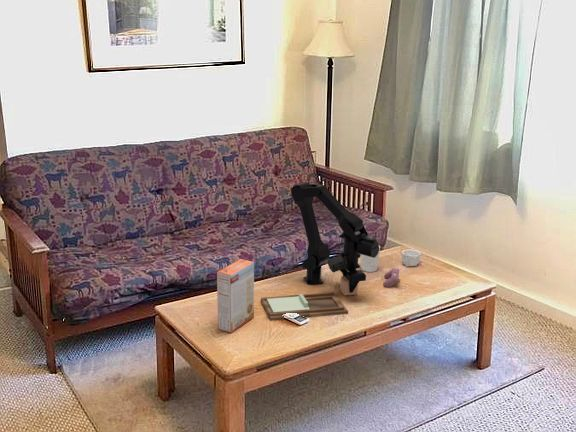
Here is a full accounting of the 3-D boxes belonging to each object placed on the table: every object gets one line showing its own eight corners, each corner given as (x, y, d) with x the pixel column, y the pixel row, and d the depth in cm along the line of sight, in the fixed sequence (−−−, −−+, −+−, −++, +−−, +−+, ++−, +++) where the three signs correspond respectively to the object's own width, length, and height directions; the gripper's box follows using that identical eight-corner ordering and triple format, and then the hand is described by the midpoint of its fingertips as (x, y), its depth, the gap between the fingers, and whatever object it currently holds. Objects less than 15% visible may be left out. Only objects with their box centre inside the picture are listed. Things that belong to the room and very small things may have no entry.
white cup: (381, 268, 283) (383, 245, 280) (373, 274, 276) (375, 251, 273) (364, 264, 287) (366, 241, 284) (355, 269, 280) (357, 246, 277)
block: (340, 289, 260) (341, 276, 258) (352, 288, 261) (353, 275, 259) (344, 295, 255) (345, 281, 254) (357, 294, 257) (358, 280, 255)
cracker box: (240, 313, 239) (240, 257, 232) (254, 318, 236) (255, 261, 230) (216, 329, 227) (216, 270, 221) (231, 334, 224) (231, 275, 218)
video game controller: (392, 291, 264) (401, 277, 262) (381, 285, 264) (391, 271, 262) (393, 281, 274) (402, 268, 271) (383, 276, 274) (392, 262, 271)
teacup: (409, 269, 282) (411, 257, 281) (396, 263, 288) (397, 251, 287) (427, 264, 288) (428, 252, 286) (413, 259, 294) (415, 247, 292)
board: (260, 300, 249) (260, 296, 249) (334, 295, 256) (334, 290, 255) (270, 320, 235) (270, 315, 234) (348, 313, 241) (348, 309, 241)
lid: (266, 300, 247) (266, 294, 246) (301, 297, 250) (301, 292, 249) (273, 313, 237) (273, 307, 236) (309, 310, 240) (309, 304, 239)
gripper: (322, 243, 260) (321, 281, 265) (338, 261, 243) (336, 301, 247) (350, 241, 262) (348, 279, 267) (367, 259, 245) (365, 299, 250)
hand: (348, 289), depth 258 cm, fingers closed on block, 5 cm apart
